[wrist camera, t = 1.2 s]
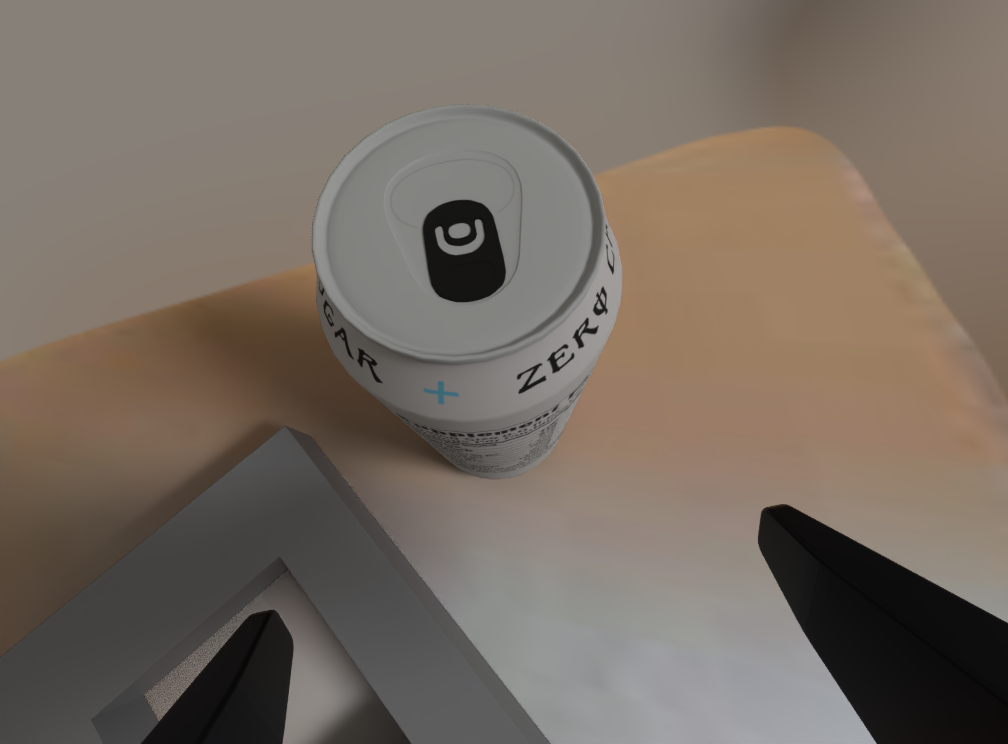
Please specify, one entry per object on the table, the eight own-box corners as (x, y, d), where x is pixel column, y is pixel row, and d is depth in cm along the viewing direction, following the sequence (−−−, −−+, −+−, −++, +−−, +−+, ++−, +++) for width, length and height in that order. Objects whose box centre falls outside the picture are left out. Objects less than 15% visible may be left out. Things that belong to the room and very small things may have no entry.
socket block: (552, 746, 18) (557, 780, 16) (243, 1079, 16) (195, 1178, 14) (310, 436, 22) (285, 425, 20) (30, 666, 20) (-37, 687, 17)
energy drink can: (547, 341, 23) (591, 51, 9) (577, 466, 21) (693, 356, 7) (423, 365, 23) (264, 109, 9) (443, 493, 21) (285, 437, 7)
